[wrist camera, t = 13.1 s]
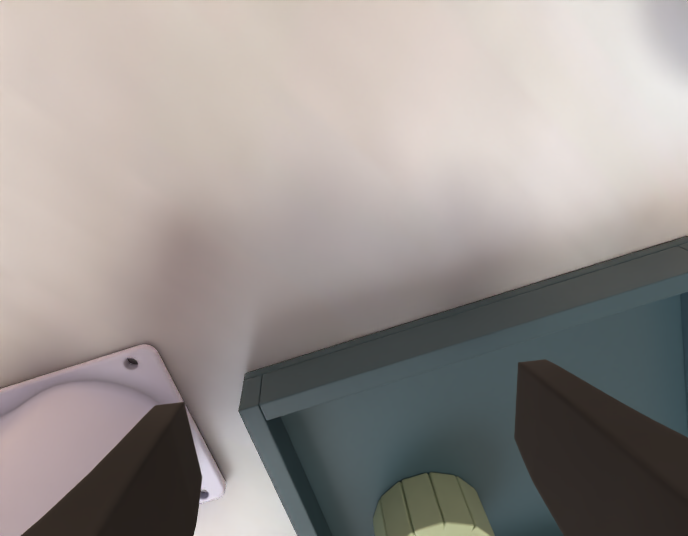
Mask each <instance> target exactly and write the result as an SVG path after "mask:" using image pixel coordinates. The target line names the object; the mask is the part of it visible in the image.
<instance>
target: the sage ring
mask: <svg viewBox="0 0 688 536" xmlns="http://www.w3.org/2000/svg"><path fill="white" fill-rule="evenodd" d="M373 526H374V533H375V536H495V535H494V532H493V530H492V528H491V525H490V523H489V520H488V518H487V516H486V513H485V511H484V508H483V506H482V504H481V501H480V499H479V496H478V494H477V492H476V490H475V489H474V488H473V487H472V486H470V485H469V484H467V483H466V482H465V481H463V480H462V479H461V478H459V477H458V476H456V477H455V475H450V474H442V473H434V472H430V473H429V475H428V474H427V473H423V474H420V475H417V476H413V477H410V478H407V479H403V480H402V483H401V482H398V483H396V484H395V485H394V486H393V487H392V488H391V489H389V490H388V491H387V492H386V493H385V494H384V495H383V496H381V499H380V500H379V502H378V505H377V508H376V511H375V514H374V517H373Z"/></svg>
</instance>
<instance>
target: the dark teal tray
mask: <svg viewBox="0 0 688 536" xmlns="http://www.w3.org/2000/svg"><path fill="white" fill-rule="evenodd" d="M543 359H546V360H548V361H550V362H552V363H554V364H556V365H558V366H560V367H561V368H563V369H565V370H567V371H568V372H570V373H572V374H574V375H575V376H577V377H579V378H580V379H582V380H584V381H586V382H587V383H589V384H591V385H592V386H594V387H596V388H597V389H599V390H601V391H603V392H604V393H606V394H608V395H610V396H611V397H613V398H615V399H617V400H618V401H620V402H622V403H624V404H625V405H627V406H629V407H631V408H633V409H634V410H636V411H638V412H640V413H642V414H644V415H645V416H647V417H649V418H651V419H653V420H655V421H657V422H659V423H661V424H663V425H665V426H667V427H668V428H670V429H672V430H674V431H676V432H678V433H680V434H682V435H684V436H686V437H688V236H686V237H683V238H680V239H677V240H674V241H670V242H667V243H664V244H661V245H657V246H654V247H651V248H648V249H645V250H641V251H638V252H635V253H632V254H628V255H625V256H622V257H619V258H616V259H612V260H609V261H606V262H603V263H599V264H596V265H593V266H590V267H587V268H583V269H580V270H577V271H574V272H570V273H567V274H564V275H561V276H558V277H554V278H551V279H548V280H545V281H541V282H538V283H535V284H532V285H529V286H525V287H522V288H519V289H516V290H512V291H509V292H506V293H503V294H500V295H496V296H493V297H490V298H487V299H483V300H480V301H477V302H474V303H471V304H467V305H464V306H461V307H458V308H455V309H451V310H448V311H445V312H442V313H438V314H435V315H432V316H429V317H426V318H422V319H419V320H416V321H413V322H409V323H406V324H403V325H400V326H397V327H393V328H390V329H387V330H384V331H380V332H377V333H374V334H371V335H368V336H364V337H361V338H358V339H355V340H351V341H348V342H345V343H342V344H339V345H335V346H332V347H329V348H326V349H322V350H319V351H316V352H313V353H310V354H306V355H303V356H300V357H297V358H293V359H290V360H287V361H284V362H281V363H277V364H274V365H271V366H268V367H264V368H261V369H258V370H255V371H252V372H248V373H246V374H245V376H244V382H243V388H242V394H241V399H240V405H239V413H240V416H241V418H242V420H243V422H244V424H245V426H246V428H247V430H248V433H249V435H250V437H251V439H252V441H253V443H254V445H255V447H256V449H257V452H258V454H259V456H260V458H261V460H262V462H263V464H264V466H265V468H266V471H267V473H268V475H269V477H270V479H271V481H272V483H273V485H274V487H275V490H276V492H277V494H278V496H279V498H280V500H281V502H282V504H283V506H284V509H285V511H286V513H287V515H288V517H289V519H290V521H291V523H292V525H293V528H294V530H295V532H296V534H297V536H375V533H374V526H373V517H374V514H375V511H376V508H377V505H378V502H379V500H380V499H381V496H383V495H384V494H385V493H386V492H387V491H388V490H389V489H391V488H392V487H393V486H394V485H395V484H396V483H398V482H401V483H402V480H403V479H407V478H410V477H413V476H417V475H420V474H423V473H427V474H428V475H429V473H430V472H434V473H442V474H450V475H455V477H456V476H458V477H459V478H461V479H462V480H463V481H465V482H466V483H467V484H469V485H470V486H472V487H473V488H474V489H475V490H476V492H477V494H478V496H479V499H480V501H481V504H482V506H483V508H484V511H485V513H486V516H487V518H488V520H489V523H490V525H491V528H492V530H493V532H494V535H495V536H564V535H563V533H562V532H561V530H560V528H559V527H558V525H557V523H556V521H555V520H554V518H553V516H552V515H551V513H550V511H549V509H548V508H547V506H546V504H545V502H544V501H543V499H542V497H541V496H540V494H539V492H538V490H537V489H536V487H535V485H534V483H533V481H532V479H531V477H530V475H529V472H528V470H527V468H526V466H525V463H524V461H523V459H522V456H521V454H520V451H519V449H518V446H517V444H516V441H515V439H514V433H515V413H516V393H517V373H518V362H526V361H535V360H543Z"/></svg>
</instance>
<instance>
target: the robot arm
mask: <svg viewBox="0 0 688 536" xmlns="http://www.w3.org/2000/svg"><path fill="white" fill-rule="evenodd" d="M127 358H133V359H135V360H136V361H137V362H138V364H131V363H129V362H128V360H127ZM514 439H515V441H516V444H517V446H518V449H519V451H520V454H521V456H522V459H523V461H524V463H525V466H526V468H527V470H528V472H529V475H530V477H531V479H532V481H533V483H534V485H535V487H536V489H537V490H538V492H539V494H540V496H541V497H542V499H543V501H544V502H545V504H546V506H547V508H548V509H549V511H550V513H551V515H552V516H553V518H554V520H555V521H556V523H557V525H558V527H559V528H560V530H561V532H562V533H563V535H564V536H688V437H686V436H684V435H682V434H680V433H678V432H676V431H674V430H672V429H670V428H668V427H667V426H665V425H663V424H661V423H659V422H657V421H655V420H653V419H651V418H649V417H647V416H645V415H644V414H642V413H640V412H638V411H636V410H634V409H633V408H631V407H629V406H627V405H625V404H624V403H622V402H620V401H618V400H617V399H615V398H613V397H611V396H610V395H608V394H606V393H604V392H603V391H601V390H599V389H597V388H596V387H594V386H592V385H591V384H589V383H587V382H586V381H584V380H582V379H580V378H579V377H577V376H575V375H574V374H572V373H570V372H568V371H567V370H565V369H563V368H561V367H560V366H558V365H556V364H554V363H552V362H550V361H548V360H546V359H543V360H535V361H526V362H518V373H517V393H516V413H515V433H514ZM201 490H206V491H207V492H201ZM225 490H226V482H225V480H224V478H223V476H222V474H221V472H220V470H219V469H218V467H217V465H216V463H215V461H214V459H213V457H212V455H211V453H210V451H209V449H208V447H207V445H206V444H205V442H204V440H203V438H202V436H201V434H200V432H199V430H198V428H197V426H196V424H195V422H194V420H193V419H192V417H191V415H190V413H189V411H188V409H187V407H186V405H185V403H184V401H183V399H182V397H181V395H180V394H179V392H178V390H177V388H176V386H175V384H174V382H173V380H172V378H171V376H170V374H169V372H168V370H167V369H166V367H165V365H164V363H163V361H162V359H161V357H160V355H159V353H158V351H157V350H156V349H155V348H154V347H152V346H151V345H147V344H142V345H138V346H135V347H131V348H128V349H125V350H122V351H119V352H116V353H112V354H109V355H106V356H103V357H100V358H97V359H93V360H90V361H87V362H84V363H81V364H77V365H74V366H71V367H68V368H65V369H62V370H58V371H55V372H52V373H49V374H46V375H43V376H39V377H36V378H33V379H30V380H27V381H23V382H20V383H17V384H14V385H11V386H8V387H4V388H1V389H0V536H193V535H194V531H195V527H196V522H197V515H198V508H199V504H202V503H205V502H208V501H211V500H215V499H218V498H220V497H222V496H223V495H224V493H225Z"/></svg>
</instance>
